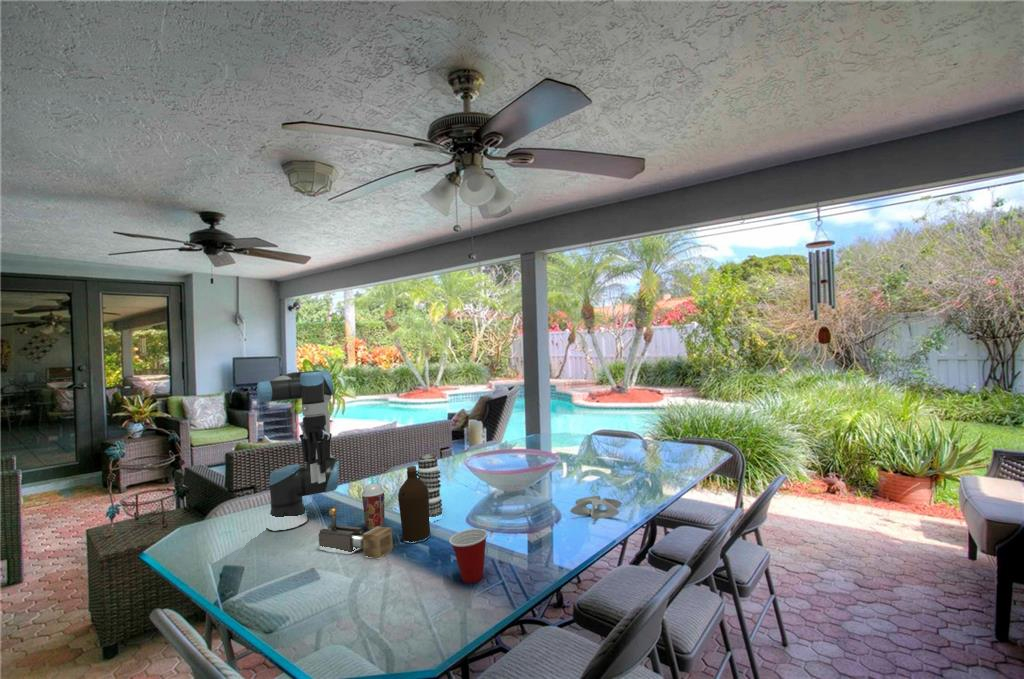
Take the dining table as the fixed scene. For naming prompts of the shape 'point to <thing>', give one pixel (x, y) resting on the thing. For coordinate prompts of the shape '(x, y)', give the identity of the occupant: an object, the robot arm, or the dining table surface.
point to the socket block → (377, 541)
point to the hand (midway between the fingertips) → (318, 482)
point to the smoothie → (373, 504)
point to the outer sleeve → (339, 537)
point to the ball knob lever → (356, 539)
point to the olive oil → (414, 507)
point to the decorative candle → (431, 482)
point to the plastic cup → (470, 553)
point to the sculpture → (596, 513)
